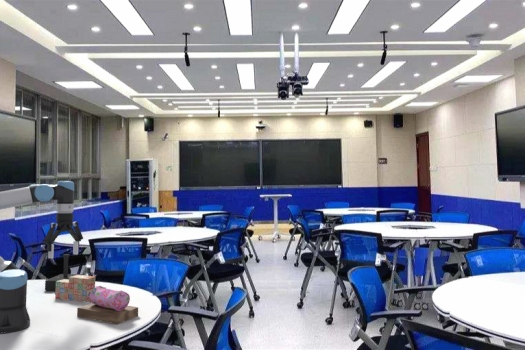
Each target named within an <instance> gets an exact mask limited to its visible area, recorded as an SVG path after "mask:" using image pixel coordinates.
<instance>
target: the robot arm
mask: <svg viewBox="0 0 525 350" xmlns="http://www.w3.org/2000/svg"><path fill="white" fill-rule="evenodd" d="M48 201H56V209H55V210H56V212H57V213H56V214H55V215H56V216H55V220H56V223H55V222H50V224H49V229H48V231H47V233H46V235H45V236H44V237H45V238H44V240H43V242H42V243H43V244H45V245H46V248H47V249H46V250H47V252H48V253H47V256H48V257H47V259H54V252H55V251H54V250H55V249H54V248H55V245H54V242H55V241H56V239H57V238H58V236H60V234H61V233H64V232H68V233H69V235H71V237H72V239H73V243H72V245H73V246H72V249H73V251H72V255H79V248H80V242H81V241H82V240H83V239H84V236H83V234H82V231H81V229H80V226H79V221H73V220H74V213H73V212H75V211H74V208H75V207H74V205H75V203H74V202H75V183H74V182H73V181H71V180H69V181H68V180H58V181H57V183H56V184H47V183H42V184H41V183H40V184H37V183H36V184H29V186H26V187H20V188H15V189H8V190H4V191H3V190H2V191H0V211H1V210H5V209H10V208H16V207H20V206H25V205H26V206H27V205H31V204H37V203H41V202H48ZM27 287H28V273H27V271H25V270H23V269H20V268H18V267H17V266H16V264H15V263H14V262H13V261H10V260H5V259H4V258H3V257H2V256H1V255H0V334H8V333H14V332H18V331H22V330H24V329H27V328H28V327H30V325H31V318H30V315H29V312H28V309H27V294H28V293H27V290H28V288H27Z"/></svg>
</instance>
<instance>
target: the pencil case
mask: <svg viewBox="0 0 525 350" xmlns="http://www.w3.org/2000/svg"><path fill="white" fill-rule="evenodd" d="M88 296H89V300H90V301H89V302H90V304H91V303H93V304H96V305H99V306H101V307H105V308H111V309H115V310H117V311H121V310H123V309H125V308H126V307H127V306H129V304H130V301H131V297H130V294H129V293H128V292H126V291H123V290H116V289H115V290H114V289H111V288H107V287H104V286H102V285H95V288H94V289H93V290H92V291H91V293H90V292H89V294H88Z"/></svg>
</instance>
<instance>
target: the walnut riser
mask: <svg viewBox="0 0 525 350" xmlns="http://www.w3.org/2000/svg"><path fill="white" fill-rule="evenodd" d="M76 309H77V310H76V312H77V313H76V317H79V318H84V319H89V320H95V321H99V322H103V323H109V324H113V325H119V324H122V323H123V322H124V323H125V322H127V321H129V320H132V319H135V318H136V317H139V307H137V306H132V305H128V306H127V307H126V308H125V309H123V310H121V311H117V310H115V309H111V308H105V307H101V306H99V305H96V304H93V303H91V302H90V303H88V304H85V305H82V306H79V307H76Z"/></svg>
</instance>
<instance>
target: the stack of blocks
mask: <svg viewBox="0 0 525 350" xmlns="http://www.w3.org/2000/svg"><path fill="white" fill-rule="evenodd" d="M55 287H56V290H55V291H54V292H55V297H54V299H60V300H67V299H69V301H78V302H84V301H85V303H86V302H90V300H89V296H88V294H89V292H90V293H91V291H92V290H93V289H94V288H96V276H91V275H85V274H84V275H75V276H71V277H69V280H68V279H63V280H59V281H56V285H55Z"/></svg>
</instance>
